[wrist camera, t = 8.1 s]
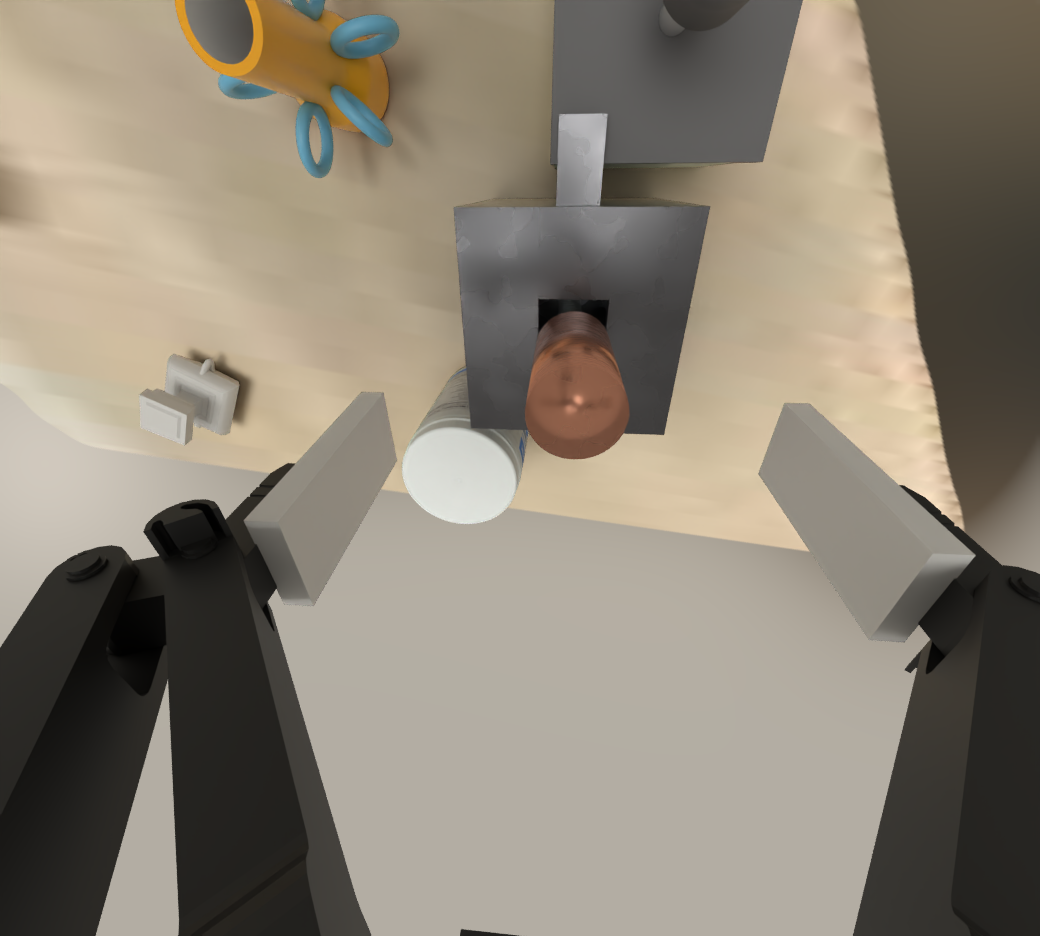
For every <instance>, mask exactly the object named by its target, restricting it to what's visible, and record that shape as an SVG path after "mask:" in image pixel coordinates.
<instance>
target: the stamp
mask: <svg viewBox="0 0 1040 936" xmlns="http://www.w3.org/2000/svg"><path fill="white" fill-rule="evenodd" d="M238 390H239V381H237V380H235V379H233V378H231V377H229V376H227V375H225V374H223V373H221V372H219V371H217V370H215V363H214V360H213V359H211V358H209V359H207V360H205V362H204V363H203V364H202V363H200V362H198V361H194V360H191V359H188V358H185V357H183V356H179V355H176V354H173V355H171V356H170V357H169V359H168V362H167V372H166V383H165V391H163V390H160V389H156V390H154V391H152V390H149V389H146V390H145V391H143V392H142V393H141V394H139V400H140V425H141V428H142V429H145V430H147V431H150V432H152V433H155V434H157V435H160V436H162V437H165V438H167V439H170V440H172V441H175V442H177V443H180V444H182V445H184V446H185V445H186V444H187V443H188V442H190V441H191V440H192V432H193V422H194V426H195V427H199V428H200V427H204V428H206V429H209V430H211V431H213V432H215V433H217V434H219V435H226V434H228V433H230V428H231V424H232V419H233V414H234V409H235V404H236V399H237V395H238Z"/></svg>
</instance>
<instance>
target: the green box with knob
mask: <svg viewBox="0 0 1040 936" xmlns="http://www.w3.org/2000/svg"><path fill="white" fill-rule="evenodd" d="M802 1H803V0H555V8H554V45H553V83H552V121H551V158H550V164H551V165H554V167H555V169H557V164H558V134H559V114H603V113H608V115H607V127H606V139H605V151H604V163H603V168H686V167H704V166H712V165H720V164H728V163H756V162H763V159H764V155H765V151H766V147H767V143H768V139H769V135H770V131H771V126H772V122H773V118H774V114H775V110H776V106H777V102H778V98H779V94H780V90H781V86H782V82H783V78H784V74H785V70H786V66H787V62H788V58H789V54H790V50H791V46H792V42H793V38H794V34H795V30H796V26H797V22H798V18H799V14H800V9H801V5H802Z"/></svg>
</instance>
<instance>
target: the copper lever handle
mask: <svg viewBox="0 0 1040 936" xmlns="http://www.w3.org/2000/svg"><path fill="white" fill-rule="evenodd" d="M628 419H629V403H628V398H627V395H626V392H625V389H624V385H623V382H622V379H621V375H620V372H619V369H618V365H617V362H616V359H615V356H614V352H613V349H612V346H611V342H610V339H609V336H608V333H607V331H606V329H605V327H604V326H603V325H602V323H601V322H600V321H599V320H598V319H596V318H595V317H593V316H592V315H590V314H587V313H584V312H582V309H581V302H580V300H571V299H560V300H559V315H557V316H555V317H553V318H552V319H550V320H549V321H548V322H547V323H546V324H545V325H544V326H543V328H542V329H541V331H540V333H539V335H538V338H537V341H536V347H535V353H534V359H533V365H532V371H531V377H530V383H529V389H528V395H527V401H526V407H525V421H526V425H527V428H528V431H529V433H530V435H531V436H532V438H533V439H534V441H535V442H536V443H537V444H538V445H539V446H540V447H541V448H543V449H544V450H546V451H547V452H549V453H551V454H553V455H555V456H558V457H561V458H566V459H585V458H589V457H593V456H596V455H599V454H601V453H603V452H605V451H606V450H608V449H609V448H610V447H612V446H613V445H614V444H615V443H616V442H617V441H618V440H619V439H620V437H621V436H622V434H623V433H624V431H625V429H626V426H627V423H628Z"/></svg>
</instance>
